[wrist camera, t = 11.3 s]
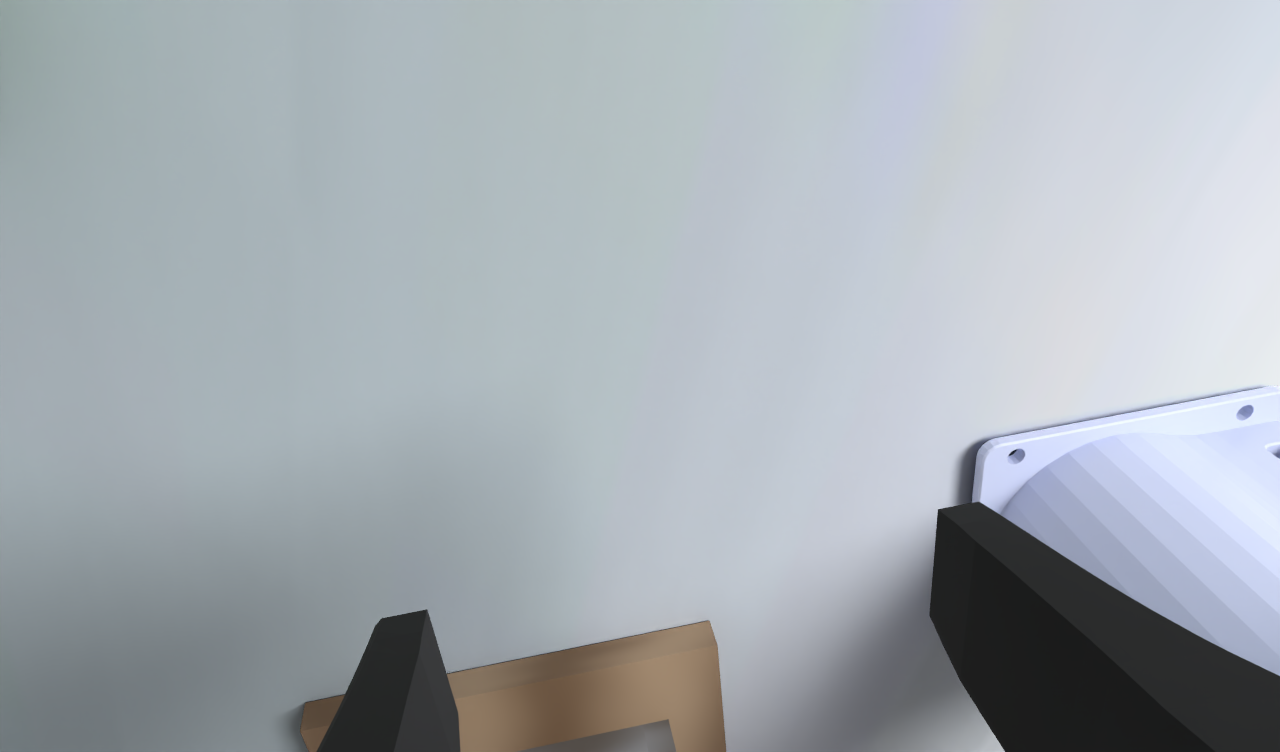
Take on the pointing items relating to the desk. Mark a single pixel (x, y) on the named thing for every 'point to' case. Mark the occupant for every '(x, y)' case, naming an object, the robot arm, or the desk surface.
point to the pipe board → (585, 699)
